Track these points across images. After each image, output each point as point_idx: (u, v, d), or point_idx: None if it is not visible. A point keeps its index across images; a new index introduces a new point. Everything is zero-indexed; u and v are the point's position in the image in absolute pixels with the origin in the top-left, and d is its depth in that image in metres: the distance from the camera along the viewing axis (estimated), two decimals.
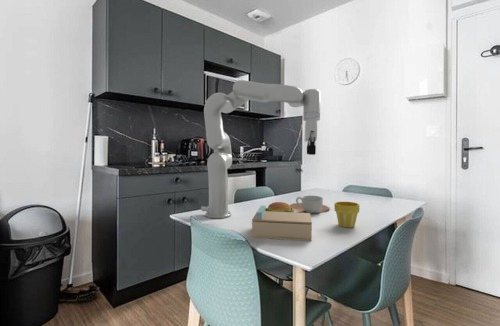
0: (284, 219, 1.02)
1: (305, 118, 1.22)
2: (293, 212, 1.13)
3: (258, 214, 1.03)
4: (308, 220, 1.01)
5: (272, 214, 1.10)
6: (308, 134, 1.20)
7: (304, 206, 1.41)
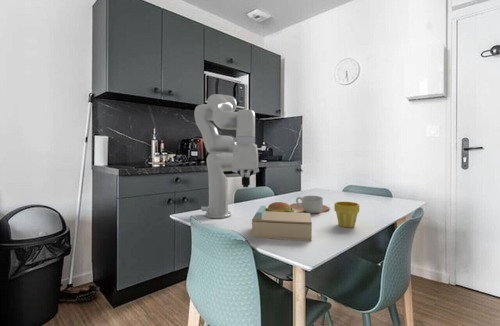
0: (284, 219, 1.02)
1: (250, 143, 1.05)
2: (293, 212, 1.13)
3: (258, 214, 1.03)
4: (308, 220, 1.01)
5: (272, 214, 1.10)
6: (257, 162, 1.06)
7: (304, 206, 1.41)
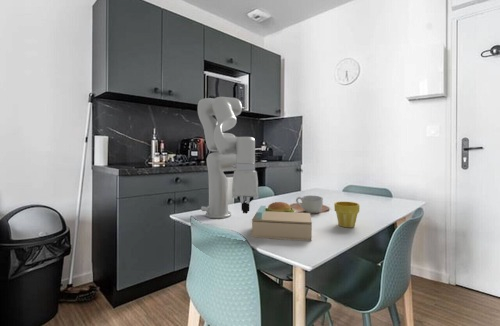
0: (284, 219, 1.02)
1: (250, 170, 1.06)
2: (293, 212, 1.13)
3: (258, 214, 1.03)
4: (308, 220, 1.01)
5: (272, 214, 1.10)
6: (257, 188, 1.07)
7: (304, 206, 1.41)
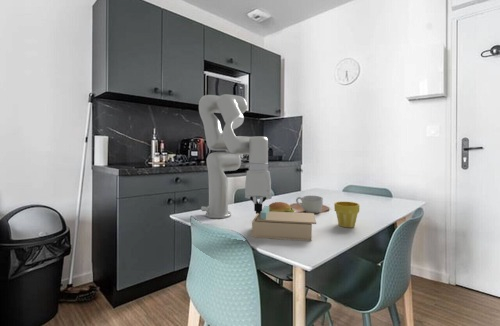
0: (288, 219, 1.02)
1: (263, 170, 1.05)
2: None
3: (262, 214, 1.02)
4: (312, 220, 1.01)
5: (276, 214, 1.09)
6: (270, 188, 1.06)
7: (304, 206, 1.41)
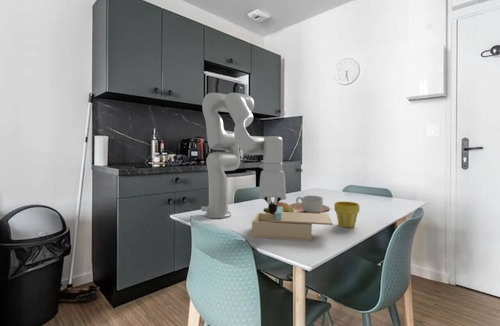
0: (304, 220, 1.01)
1: (278, 170, 1.04)
2: (311, 213, 1.12)
3: (277, 215, 1.01)
4: (328, 221, 1.00)
5: (290, 215, 1.08)
6: (285, 189, 1.05)
7: (304, 206, 1.41)
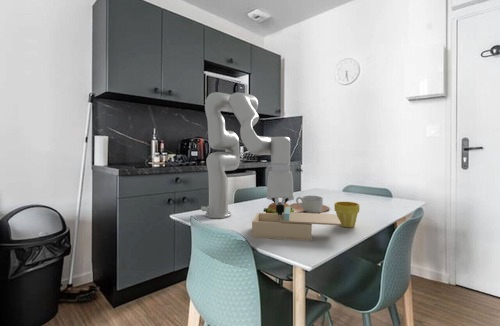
0: (312, 220, 1.00)
1: (286, 171, 1.03)
2: None
3: (285, 215, 1.01)
4: (337, 221, 0.99)
5: (298, 215, 1.08)
6: None
7: (304, 206, 1.41)
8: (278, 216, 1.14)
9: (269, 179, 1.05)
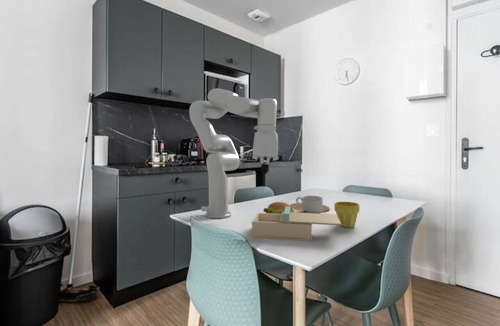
0: (312, 220, 1.00)
1: (271, 131, 1.08)
2: None
3: (285, 215, 1.01)
4: (337, 221, 0.99)
5: (298, 215, 1.08)
6: (277, 149, 1.09)
7: (304, 206, 1.41)
8: (278, 216, 1.14)
9: (255, 139, 1.10)
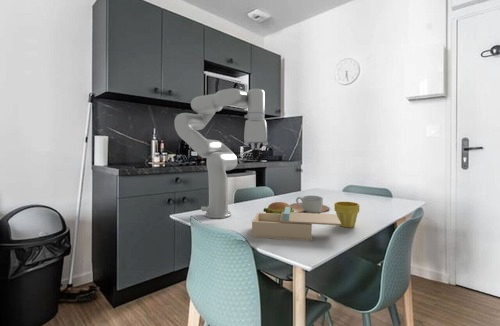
0: (312, 220, 1.00)
1: (260, 118, 1.18)
2: None
3: (285, 215, 1.01)
4: (337, 221, 0.99)
5: (298, 215, 1.08)
6: (266, 135, 1.19)
7: (304, 206, 1.41)
8: (278, 216, 1.14)
9: (246, 126, 1.19)
